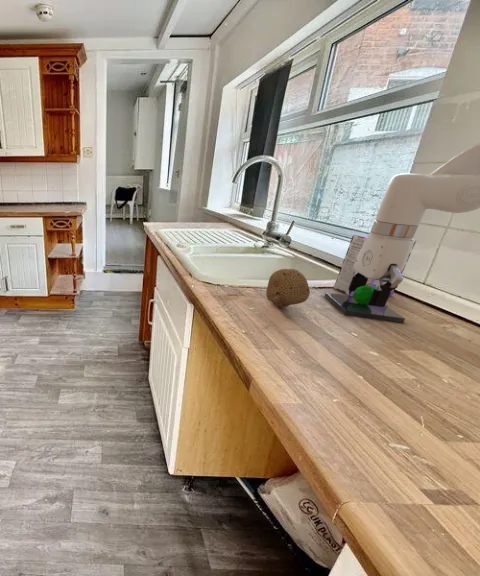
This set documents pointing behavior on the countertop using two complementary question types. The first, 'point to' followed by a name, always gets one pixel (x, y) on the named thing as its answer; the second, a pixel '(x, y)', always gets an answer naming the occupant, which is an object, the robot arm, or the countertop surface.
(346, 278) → the candy box
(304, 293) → the natural sponge
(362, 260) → the robot arm
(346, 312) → the board
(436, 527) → the countertop surface
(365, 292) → the polyhedron
